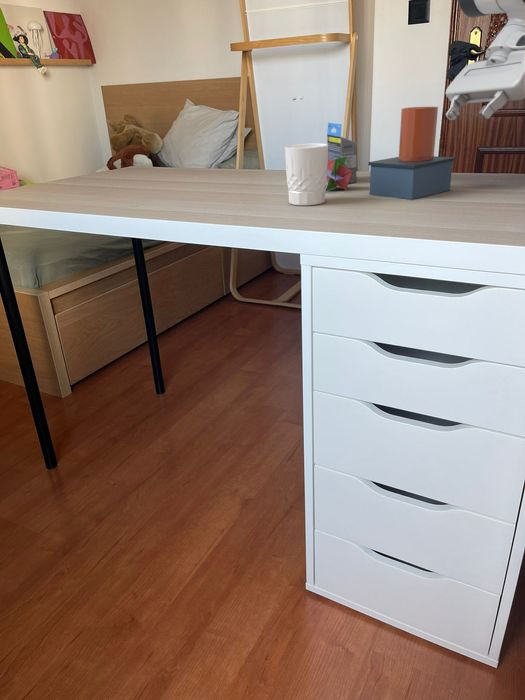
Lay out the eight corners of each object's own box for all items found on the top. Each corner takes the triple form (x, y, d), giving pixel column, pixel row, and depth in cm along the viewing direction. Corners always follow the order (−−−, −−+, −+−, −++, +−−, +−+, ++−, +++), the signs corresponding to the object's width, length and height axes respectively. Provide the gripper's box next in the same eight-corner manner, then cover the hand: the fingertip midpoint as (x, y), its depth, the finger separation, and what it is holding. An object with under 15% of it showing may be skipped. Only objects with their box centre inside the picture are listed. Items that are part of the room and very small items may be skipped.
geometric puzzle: (367, 177, 108) (347, 144, 108) (349, 182, 103) (329, 147, 103) (342, 197, 113) (323, 165, 113) (325, 203, 108) (305, 169, 108)
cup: (416, 156, 104) (420, 106, 100) (440, 158, 99) (445, 106, 95) (391, 159, 102) (394, 108, 98) (415, 162, 97) (419, 108, 93)
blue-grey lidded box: (407, 185, 110) (409, 154, 107) (452, 190, 103) (455, 157, 100) (367, 194, 103) (368, 162, 101) (412, 200, 96) (414, 165, 93)
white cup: (335, 203, 97) (336, 145, 92) (296, 208, 94) (295, 148, 90) (316, 196, 103) (315, 142, 99) (279, 201, 101) (277, 146, 97)
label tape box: (357, 183, 116) (358, 122, 111) (339, 184, 115) (340, 123, 110) (342, 177, 124) (343, 121, 118) (326, 179, 123) (326, 122, 118)
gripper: (465, 50, 108) (423, 108, 109) (545, 34, 90) (494, 103, 92) (481, 73, 111) (440, 128, 112) (562, 62, 93) (513, 128, 95)
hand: (465, 117), depth 102 cm, fingers open, 8 cm apart
